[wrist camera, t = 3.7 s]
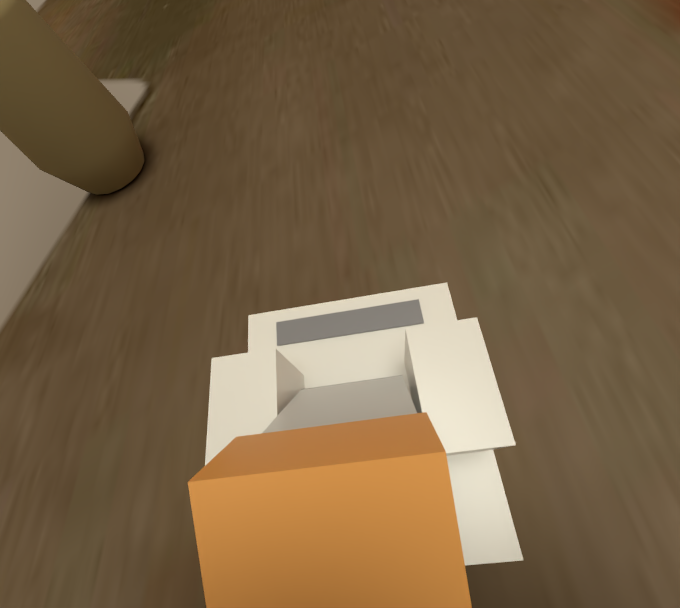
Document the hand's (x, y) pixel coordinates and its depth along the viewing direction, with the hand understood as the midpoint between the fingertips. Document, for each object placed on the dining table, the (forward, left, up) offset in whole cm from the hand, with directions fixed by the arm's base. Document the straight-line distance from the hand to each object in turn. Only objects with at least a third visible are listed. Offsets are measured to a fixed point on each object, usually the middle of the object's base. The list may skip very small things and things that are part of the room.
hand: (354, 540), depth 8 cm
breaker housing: (+3, +2, -9) cm, 10 cm away
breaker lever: (+3, +2, -4) cm, 5 cm away
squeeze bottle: (+12, +32, -10) cm, 35 cm away
